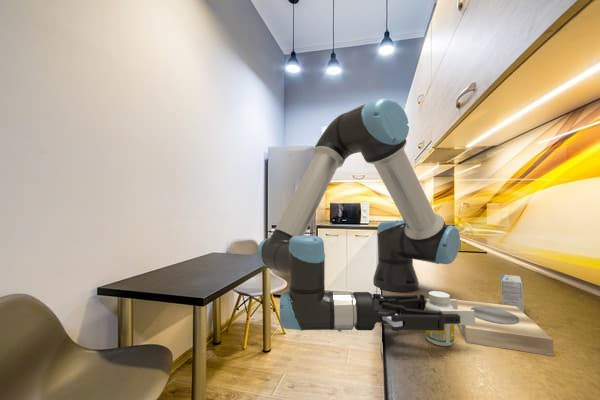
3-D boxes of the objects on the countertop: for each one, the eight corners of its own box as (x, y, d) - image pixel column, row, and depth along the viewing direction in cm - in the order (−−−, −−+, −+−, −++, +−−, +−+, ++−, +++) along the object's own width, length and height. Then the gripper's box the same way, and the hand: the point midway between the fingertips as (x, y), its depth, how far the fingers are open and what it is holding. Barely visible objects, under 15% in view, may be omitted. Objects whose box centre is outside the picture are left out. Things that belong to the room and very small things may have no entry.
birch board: (452, 310, 72) (452, 297, 72) (516, 318, 66) (515, 304, 66) (466, 342, 55) (466, 325, 55) (553, 355, 50) (553, 337, 50)
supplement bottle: (435, 347, 53) (434, 298, 53) (420, 334, 58) (419, 290, 58) (460, 346, 53) (459, 297, 54) (443, 333, 59) (442, 289, 59)
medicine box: (524, 317, 67) (523, 282, 67) (501, 313, 70) (500, 279, 70) (522, 307, 73) (521, 276, 74) (501, 304, 76) (501, 273, 76)
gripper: (346, 311, 65) (442, 312, 65) (362, 352, 47) (496, 353, 46) (346, 280, 66) (442, 281, 65) (361, 309, 47) (495, 309, 47)
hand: (464, 311), depth 56 cm, fingers closed on supplement bottle, 5 cm apart
